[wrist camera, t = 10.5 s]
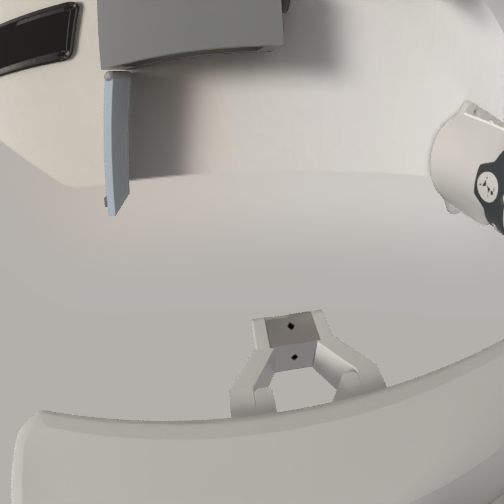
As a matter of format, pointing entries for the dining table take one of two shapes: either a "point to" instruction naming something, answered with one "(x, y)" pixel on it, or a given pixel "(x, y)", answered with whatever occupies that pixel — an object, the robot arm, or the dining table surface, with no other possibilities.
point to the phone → (38, 38)
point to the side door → (116, 138)
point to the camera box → (185, 29)
